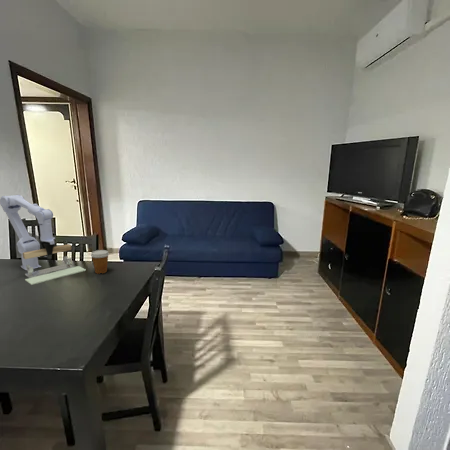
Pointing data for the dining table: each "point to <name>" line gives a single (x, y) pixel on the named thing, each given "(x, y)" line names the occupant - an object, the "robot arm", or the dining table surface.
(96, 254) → the disposable coffee cup
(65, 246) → the rail
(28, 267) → the rack
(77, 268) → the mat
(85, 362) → the dining table surface
